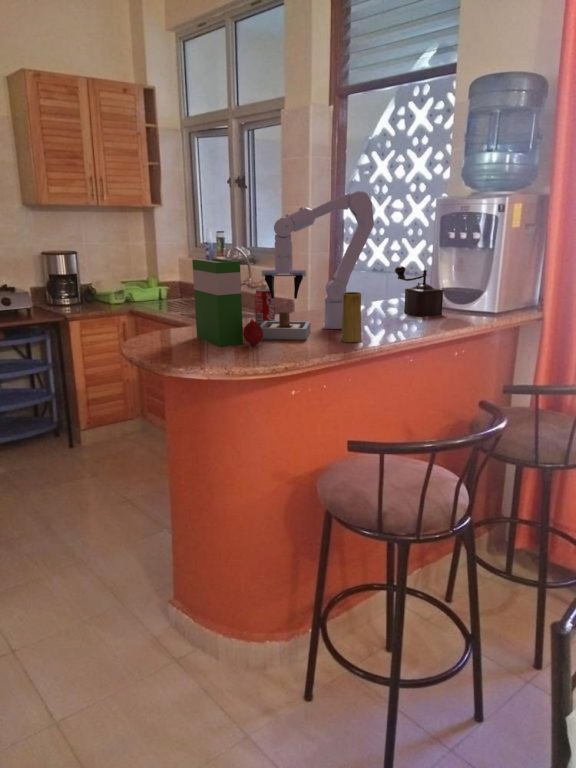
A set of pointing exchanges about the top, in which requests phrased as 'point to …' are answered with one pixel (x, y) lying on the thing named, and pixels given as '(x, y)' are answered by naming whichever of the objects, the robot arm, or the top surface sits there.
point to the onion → (253, 333)
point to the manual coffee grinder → (421, 297)
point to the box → (286, 331)
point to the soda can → (264, 306)
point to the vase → (351, 317)
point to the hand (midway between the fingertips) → (284, 298)
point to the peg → (284, 319)
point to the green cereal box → (218, 301)
